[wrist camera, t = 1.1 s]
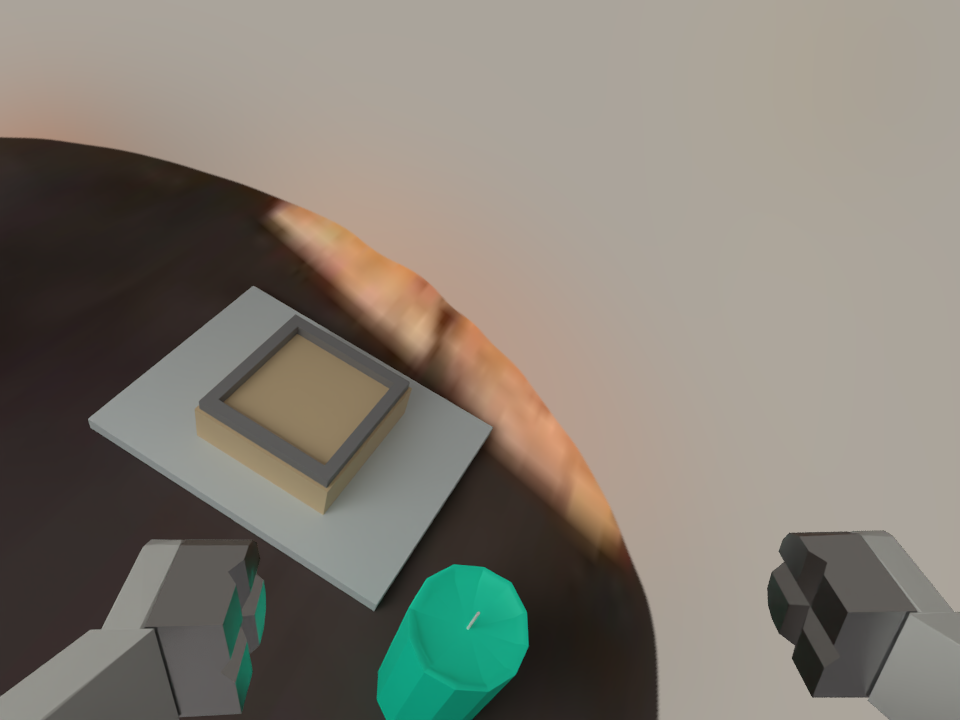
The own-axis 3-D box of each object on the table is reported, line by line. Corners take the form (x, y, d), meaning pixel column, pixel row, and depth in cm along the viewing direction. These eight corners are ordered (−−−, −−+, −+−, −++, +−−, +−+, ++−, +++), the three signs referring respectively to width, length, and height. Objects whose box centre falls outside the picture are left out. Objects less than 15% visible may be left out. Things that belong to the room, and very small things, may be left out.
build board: (90, 427, 46) (77, 383, 42) (253, 294, 56) (253, 250, 53) (374, 611, 43) (386, 580, 39) (489, 434, 53) (507, 397, 50)
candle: (428, 613, 43) (475, 527, 35) (497, 689, 42) (566, 618, 33) (353, 684, 40) (385, 607, 31) (426, 770, 38) (482, 715, 29)
